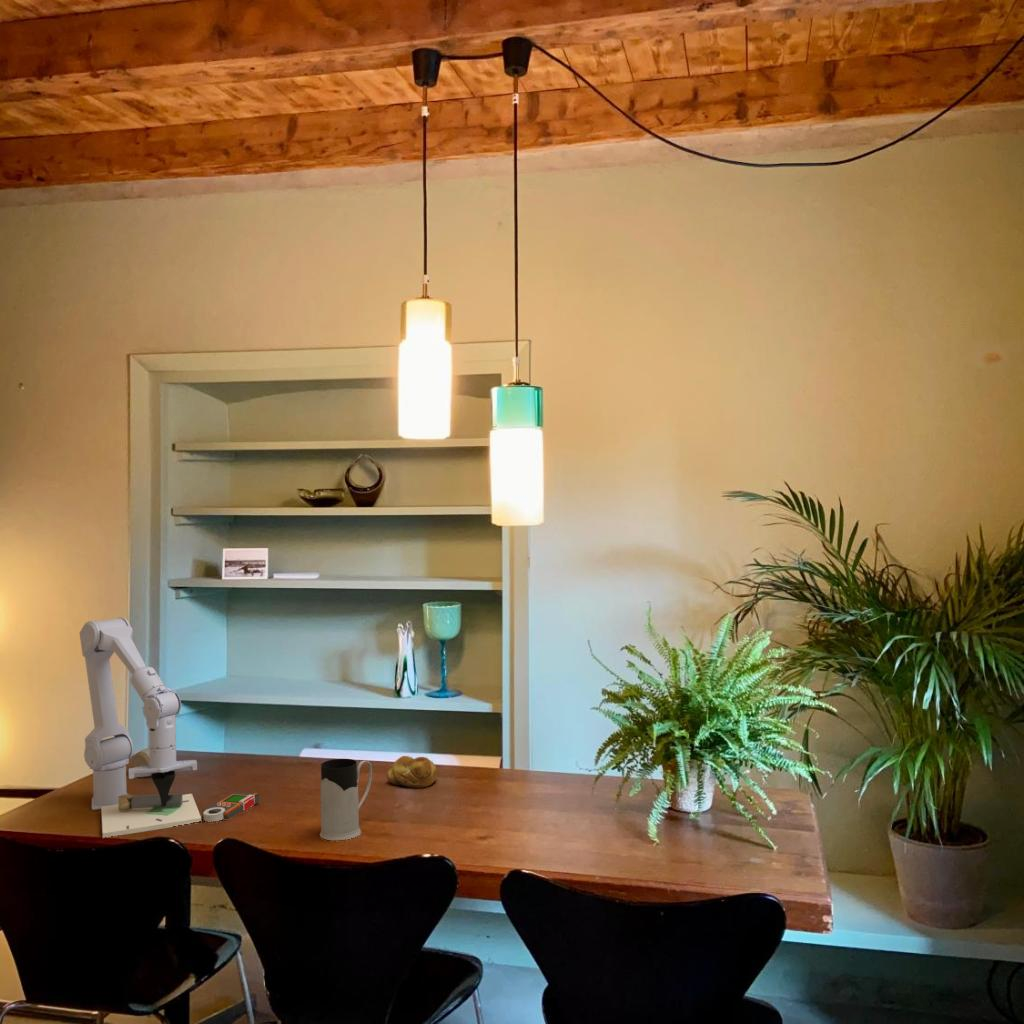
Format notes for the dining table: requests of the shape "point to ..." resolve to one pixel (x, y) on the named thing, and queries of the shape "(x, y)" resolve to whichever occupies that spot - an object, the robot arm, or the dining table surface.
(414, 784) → the bread roll
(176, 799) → the grey metal bar
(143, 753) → the ceramic mug
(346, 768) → the tall beer stein
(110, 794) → the robot arm
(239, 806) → the electronic device
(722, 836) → the dining table surface
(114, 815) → the dial plate
